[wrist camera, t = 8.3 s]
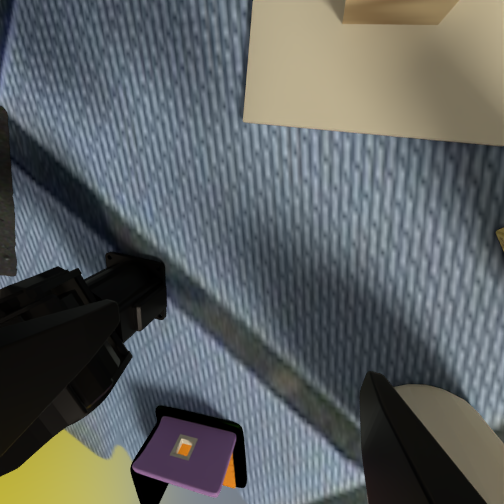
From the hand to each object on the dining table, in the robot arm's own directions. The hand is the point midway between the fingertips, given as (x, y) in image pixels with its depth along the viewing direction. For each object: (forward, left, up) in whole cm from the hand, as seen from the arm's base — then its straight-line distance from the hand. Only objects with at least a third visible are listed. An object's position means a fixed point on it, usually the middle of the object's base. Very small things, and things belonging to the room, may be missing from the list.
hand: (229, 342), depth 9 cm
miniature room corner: (-6, -31, -14) cm, 34 cm away
